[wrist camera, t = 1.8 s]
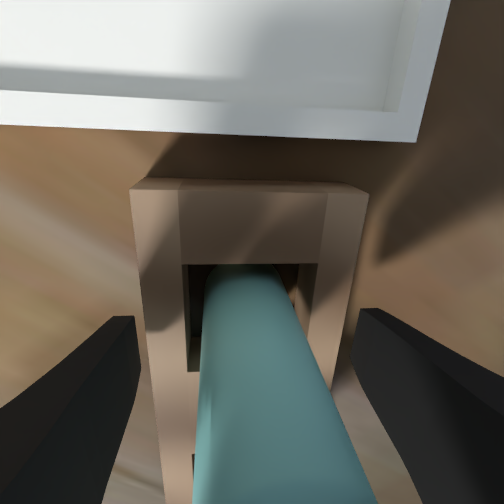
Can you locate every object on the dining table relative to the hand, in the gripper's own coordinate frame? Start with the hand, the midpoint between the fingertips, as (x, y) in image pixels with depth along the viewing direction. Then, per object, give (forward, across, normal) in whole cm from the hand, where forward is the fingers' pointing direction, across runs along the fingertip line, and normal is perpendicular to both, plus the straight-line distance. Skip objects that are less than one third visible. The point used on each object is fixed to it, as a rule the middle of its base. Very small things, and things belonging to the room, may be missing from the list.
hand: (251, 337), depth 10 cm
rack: (+3, 0, +4) cm, 5 cm away
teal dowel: (+3, 0, 0) cm, 3 cm away
